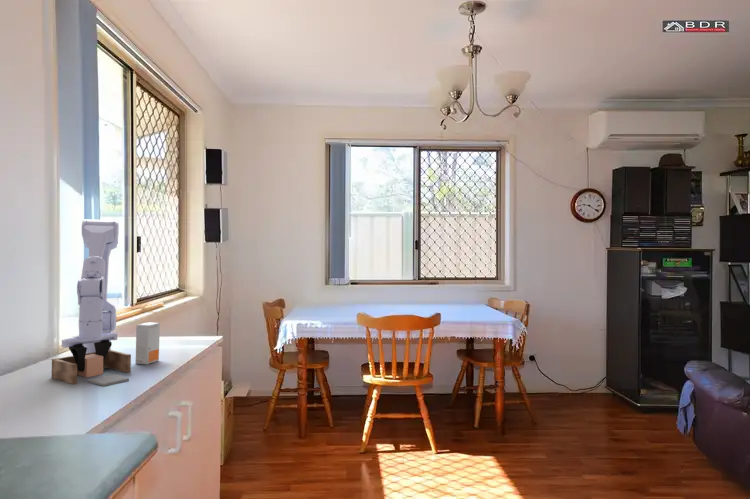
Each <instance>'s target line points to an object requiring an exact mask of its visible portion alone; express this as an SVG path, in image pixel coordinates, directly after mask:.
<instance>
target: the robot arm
mask: <svg viewBox="0 0 750 499" xmlns="http://www.w3.org/2000/svg"><path fill="white" fill-rule="evenodd" d="M81 238H82V240H83V244H84V247H85V248H87V249H88V257H86V258H85V259H84V260H83V261H82V262H83V265H82V269H81V277H80V279H78V281H77V283H76V294H77V304H78V306H79V308H78V310H79V311H78V312H79V313H78V314H79V315H78V336H75V337H71V338H66V339H65V338H64V339H61V348H66V349H67V348H68V349H69V351H70V352H71V354H72V356H74V359H75V361H76V364H77V368H78V371H81V372H83V371H84V369H85V355H86V353H92V352H96V355H100V356H103V363H104V360H105V357H106V354H107V352H108V350H112V345H113V344H112V341H117V340H118V332H114V331H115V330H116V328H117V308H116V306H115V305H114V304H113V303H111V302H110V301H108V284H109V283H108V282H109V262H110V255H111V252H112V250H114V249H116V248H117V247H118V244H119V221H118V220H116V219H114V220H113V219H112V220H110V219H106V220H105V219H86V218H85V219H83V220H82V221H81Z"/></svg>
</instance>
